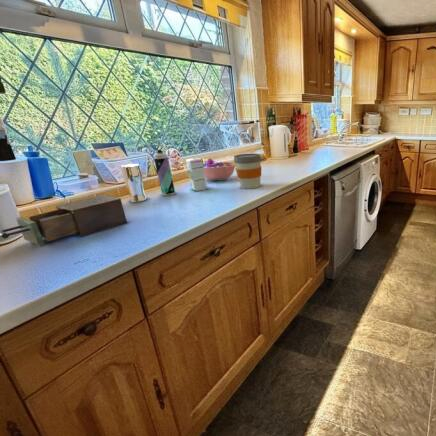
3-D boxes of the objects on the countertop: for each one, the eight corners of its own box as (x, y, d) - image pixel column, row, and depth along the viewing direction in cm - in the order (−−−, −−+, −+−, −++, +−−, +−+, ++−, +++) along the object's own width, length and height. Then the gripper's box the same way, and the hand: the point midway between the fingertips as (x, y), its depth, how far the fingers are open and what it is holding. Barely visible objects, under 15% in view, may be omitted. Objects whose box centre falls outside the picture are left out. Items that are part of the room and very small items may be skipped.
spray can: (160, 194, 138) (150, 149, 131) (173, 191, 142) (163, 148, 135) (164, 196, 134) (154, 150, 128) (177, 193, 138) (167, 149, 131)
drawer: (11, 254, 80) (1, 230, 77) (-2, 247, 84) (-13, 224, 82) (89, 230, 94) (83, 210, 92) (74, 225, 99) (67, 205, 97)
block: (68, 230, 92) (63, 216, 90) (49, 235, 88) (44, 221, 87) (61, 228, 94) (56, 214, 93) (43, 233, 90) (37, 219, 89)
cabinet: (81, 236, 92) (72, 210, 89) (64, 230, 98) (55, 205, 95) (127, 222, 103) (120, 198, 100) (109, 217, 109) (102, 194, 106)
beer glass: (125, 202, 127) (115, 166, 122) (138, 197, 134) (130, 163, 129) (139, 202, 126) (129, 167, 121) (151, 198, 132) (143, 164, 127)
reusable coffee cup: (255, 190, 139) (251, 157, 134) (232, 189, 143) (227, 157, 138) (268, 184, 151) (265, 153, 145) (246, 182, 154) (243, 153, 149)
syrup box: (207, 188, 145) (202, 158, 140) (195, 191, 141) (189, 160, 136) (203, 187, 149) (197, 157, 144) (191, 189, 145) (185, 159, 140)
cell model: (226, 184, 153) (223, 161, 149) (192, 183, 157) (188, 161, 154) (243, 177, 168) (240, 156, 164) (211, 176, 173) (208, 156, 169)
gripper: (-58, 92, 77) (-29, 160, 83) (-38, 88, 69) (-7, 163, 75) (-17, 93, 83) (8, 156, 89) (6, 89, 75) (32, 159, 81)
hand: (1, 159), depth 82 cm, fingers open, 9 cm apart
